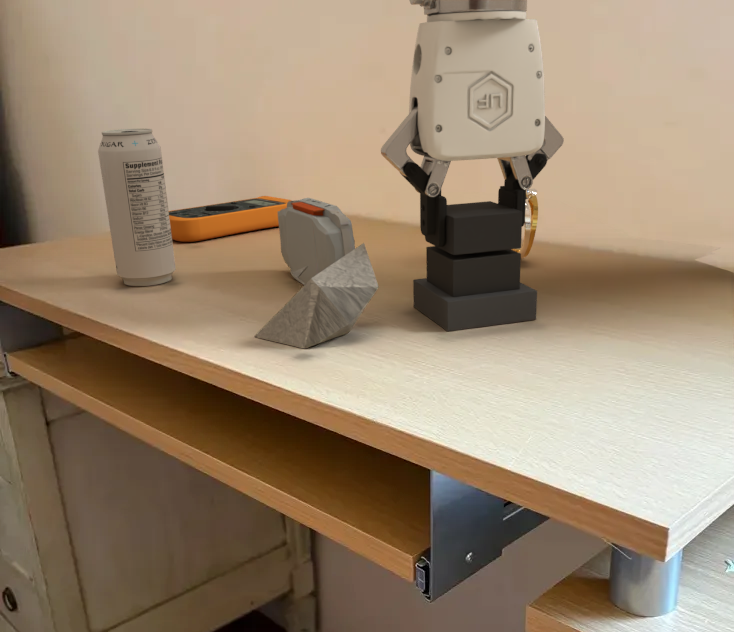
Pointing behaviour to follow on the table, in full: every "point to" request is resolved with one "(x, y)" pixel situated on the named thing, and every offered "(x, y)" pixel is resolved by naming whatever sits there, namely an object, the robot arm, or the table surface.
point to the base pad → (474, 306)
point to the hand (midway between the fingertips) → (472, 238)
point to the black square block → (473, 271)
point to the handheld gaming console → (313, 236)
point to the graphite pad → (482, 228)
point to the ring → (529, 227)
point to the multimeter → (225, 218)
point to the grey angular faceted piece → (325, 303)
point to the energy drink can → (137, 206)
